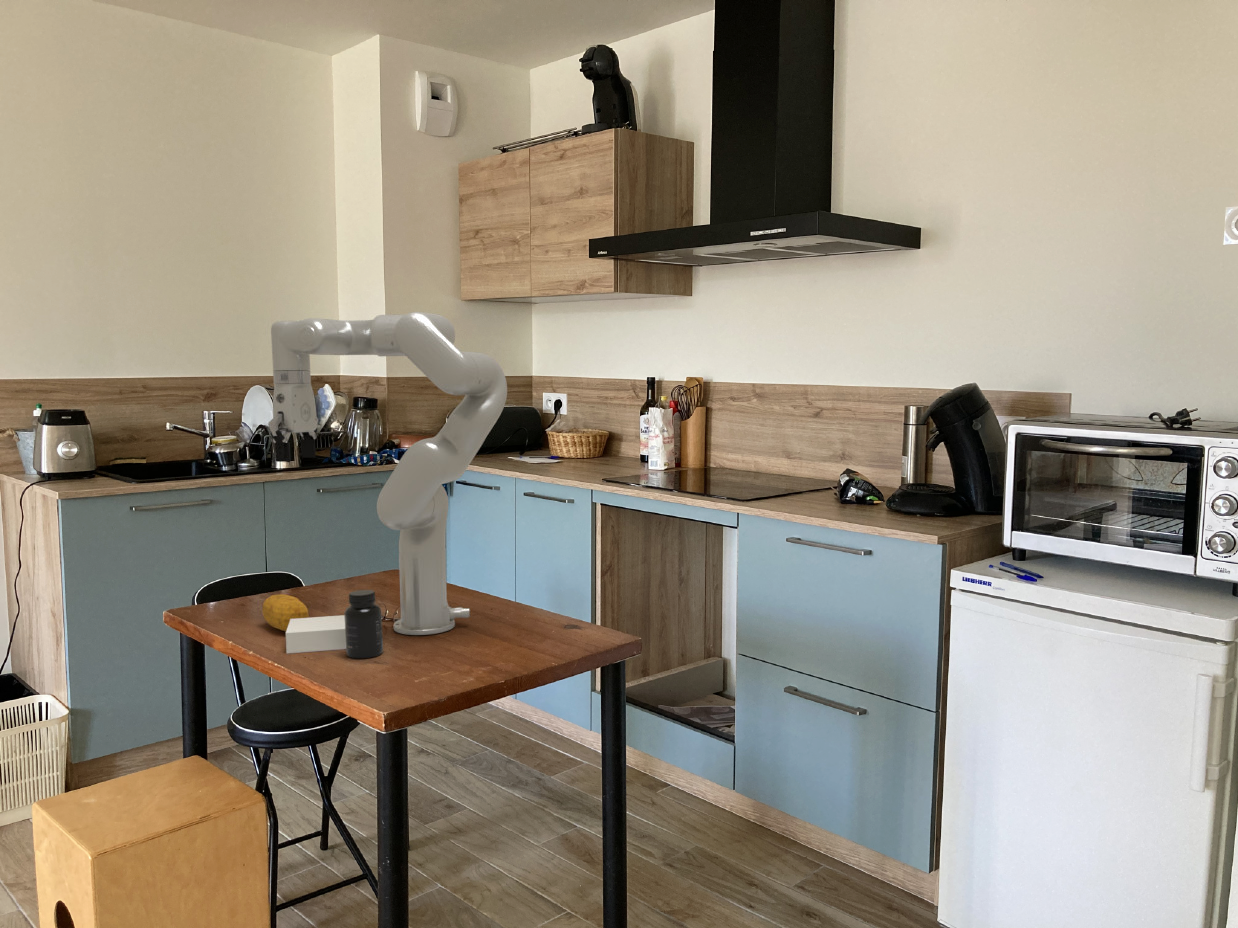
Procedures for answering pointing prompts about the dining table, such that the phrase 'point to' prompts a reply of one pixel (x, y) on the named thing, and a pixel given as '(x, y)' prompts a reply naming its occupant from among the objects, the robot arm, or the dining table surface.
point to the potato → (283, 610)
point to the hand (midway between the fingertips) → (296, 459)
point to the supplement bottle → (363, 626)
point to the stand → (316, 634)
